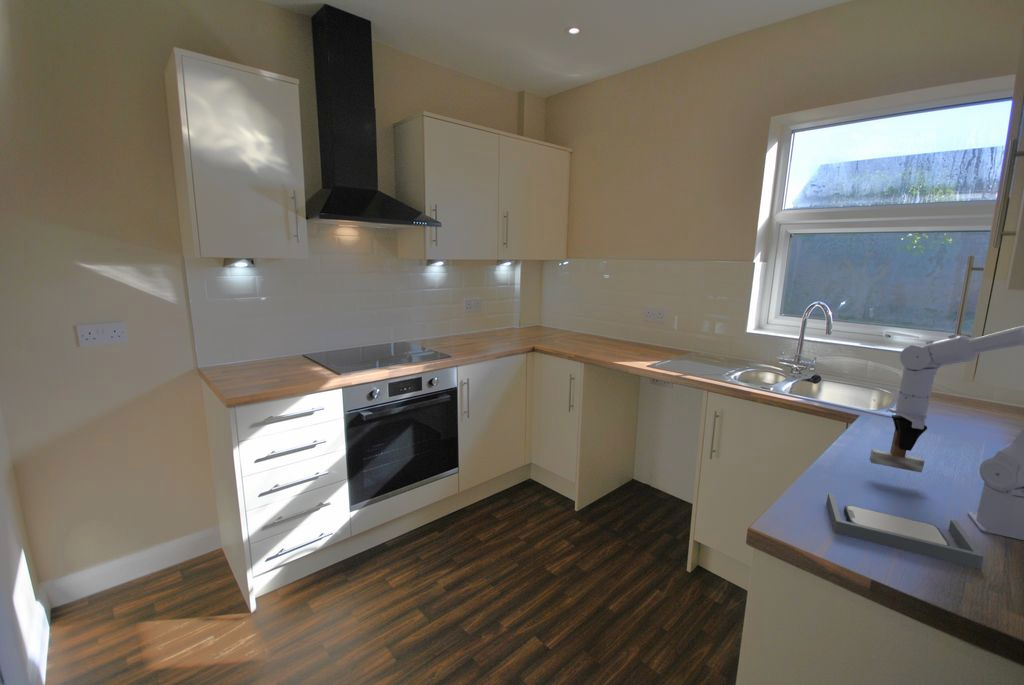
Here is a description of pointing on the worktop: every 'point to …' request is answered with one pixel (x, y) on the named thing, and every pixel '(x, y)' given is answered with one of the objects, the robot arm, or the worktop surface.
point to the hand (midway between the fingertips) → (903, 447)
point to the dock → (910, 539)
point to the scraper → (897, 457)
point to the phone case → (894, 524)
